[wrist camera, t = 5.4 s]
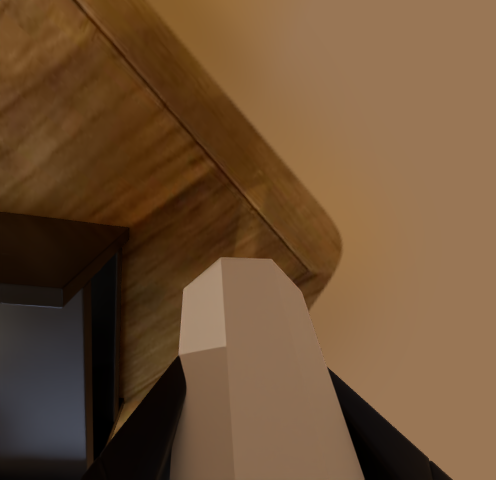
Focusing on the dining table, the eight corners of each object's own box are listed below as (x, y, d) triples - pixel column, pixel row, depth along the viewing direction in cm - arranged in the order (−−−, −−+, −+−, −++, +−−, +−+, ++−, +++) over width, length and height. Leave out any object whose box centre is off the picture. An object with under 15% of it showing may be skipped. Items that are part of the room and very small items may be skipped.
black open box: (129, 227, 16) (61, 288, 9) (123, 405, 21) (74, 540, 14) (-42, 206, 15) (-269, 259, 8) (-11, 400, 19) (-142, 546, 12)
